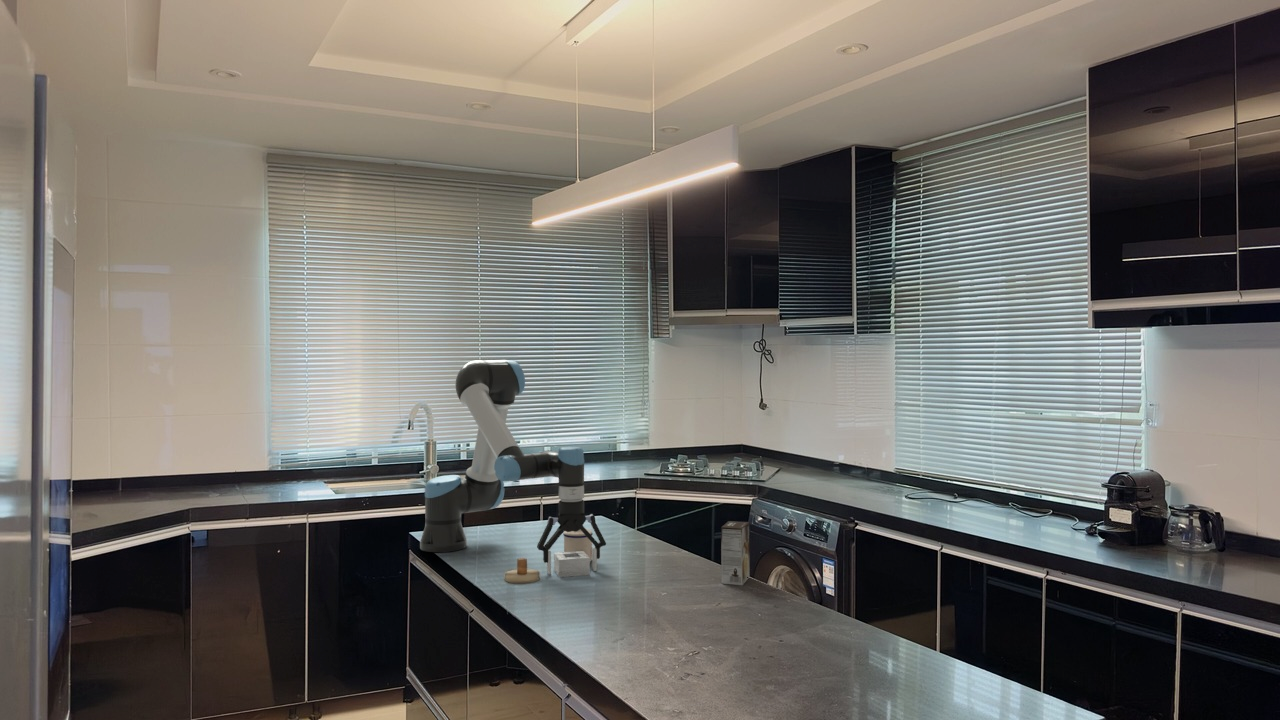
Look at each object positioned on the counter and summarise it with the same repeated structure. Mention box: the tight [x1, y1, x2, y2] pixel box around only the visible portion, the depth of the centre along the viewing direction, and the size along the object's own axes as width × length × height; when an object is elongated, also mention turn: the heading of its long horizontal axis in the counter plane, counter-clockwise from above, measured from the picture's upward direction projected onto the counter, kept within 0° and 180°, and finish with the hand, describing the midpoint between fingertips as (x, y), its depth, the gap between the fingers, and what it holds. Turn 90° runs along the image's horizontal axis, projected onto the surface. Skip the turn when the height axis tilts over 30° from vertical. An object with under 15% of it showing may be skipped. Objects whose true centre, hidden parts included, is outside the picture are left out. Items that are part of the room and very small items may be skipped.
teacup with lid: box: [562, 527, 593, 563], centre depth 265 cm, size 12×9×12 cm
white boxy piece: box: [553, 551, 591, 578], centre depth 251 cm, size 9×9×5 cm
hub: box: [504, 557, 541, 584], centre depth 244 cm, size 10×10×6 cm
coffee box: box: [720, 520, 751, 586], centre depth 241 cm, size 9×6×16 cm
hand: (571, 571), depth 251 cm, fingers open, 13 cm apart
